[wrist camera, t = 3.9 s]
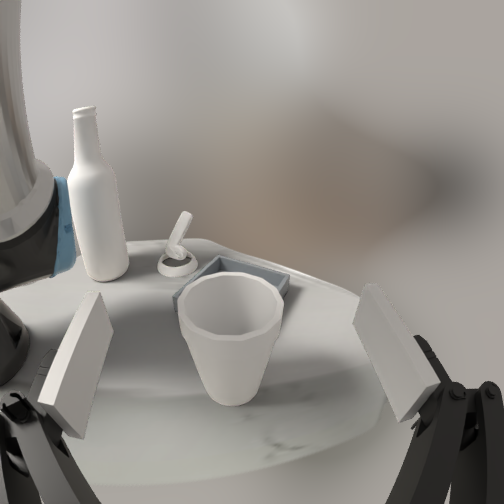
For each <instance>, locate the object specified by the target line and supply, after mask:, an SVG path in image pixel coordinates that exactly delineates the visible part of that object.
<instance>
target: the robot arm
mask: <svg viewBox="0 0 504 504" xmlns="http://www.w3.org/2000/svg"><path fill="white" fill-rule="evenodd" d="M20 13H21V0H0V292H3V291H6V290H10V289H13V288H16V287H19V286H22V285H25V284H28V283H31V282H35V281H38V280H42V279H45V278H48V277H49V278H53V277H55V276H56V275H57V274H59V273H62V272H65V271H68V270H70V269H71V268H72V267H73V266H74V264H75V261H76V249H75V240H74V233H73V228H72V216H71V207H70V199H69V190H68V184H67V180H66V179H65V178H64V177H57V176H56V177H53V175H52V172H51V170H50V168H49V167H48V166H47V165H46V164H45V163H44V162H42V161H41V160H38V159H35V156H34V152H33V147H32V143H31V138H30V133H29V127H28V121H27V115H26V108H25V101H24V94H23V84H22V73H21V56H20ZM353 325H354V327H355V329H356V331H357V334H358V336H359V338H360V340H361V342H362V344H363V346H364V348H365V350H366V352H367V354H368V356H369V358H370V361H371V363H372V365H373V367H374V369H375V371H376V374H377V376H378V378H379V380H380V382H381V384H382V387H383V389H384V391H385V393H386V396H387V398H388V400H389V402H390V404H391V407H392V409H393V412H394V414H395V416H396V419H397V421H398V423H399V422H403V421H406V420H409V419H412V418H413V417H414V415H415V414H416V413H417V412H419V414H420V416H421V417H420V418H419V419H418V420H417V421H416V422H415V423H414V424H413V426H412V427H411V429H414V428H415V426H416V429H415V431H414V434H413V437H412V440H411V443H410V446H409V449H408V452H407V455H406V457H405V460H404V462H403V465H402V467H401V470H400V472H399V475H398V477H397V479H396V482H395V484H394V486H393V489H392V491H391V493H390V495H389V497H388V499H387V501H386V503H385V504H444V502H445V499H446V496H447V493H448V490H449V487H450V484H451V492H450V501H449V504H504V406H503V401H502V395H501V391H500V389H499V387H498V386H497V385H496V384H495V383H493V382H490V381H487V382H484V383H483V384H482V385H481V386H480V387H479V389H466V388H465V387H464V386H463V385H462V384H460V383H458V382H452V381H451V379H450V378H449V376H448V374H447V373H446V371H445V369H444V368H443V366H442V364H441V363H440V361H439V360H438V358H436V355H435V353H434V352H433V351H432V349H431V347H430V345H429V344H428V343H427V341H426V340H425V339H423V338H422V337H421V336H420V335H416V336H413V335H412V334H411V332H410V331H409V329H408V328H407V326H406V325H405V323H404V321H403V320H402V318H401V317H400V315H399V314H398V312H397V311H396V309H395V308H394V306H393V305H392V303H391V302H390V300H389V299H388V297H387V296H386V295H385V293H384V292H383V290H382V289H381V287H380V286H379V285H378V283H368V284H364V288H363V291H362V295H361V298H360V301H359V305H358V308H357V311H356V314H355V318H354V321H353ZM113 333H114V331H113V328H112V325H111V322H110V320H109V317H108V314H107V311H106V308H105V305H104V302H103V299H102V296H101V292H100V291H87V292H86V294H85V296H84V298H83V300H82V301H81V303H80V305H79V307H78V309H77V311H76V313H75V315H74V317H73V319H72V321H71V323H70V325H69V327H68V330H67V332H66V334H65V336H64V338H63V340H62V342H61V345H60V347H59V349H58V350H53V349H51V350H50V351H49V352H48V353H47V354H46V355H45V356H44V358H43V360H42V362H41V364H40V368H39V369H38V371H37V375H36V376H35V378H34V381H33V383H32V385H31V388H30V390H29V393H28V396H27V398H26V397H25V396H24V395H23V394H22V393H21V392H20V391H16V390H12V391H9V392H8V393H6V394H5V395H4V396H3V398H2V399H1V402H0V410H1V411H2V412H0V504H42V503H41V499H40V496H41V498H42V500H43V502H44V504H101V503H100V501H99V500H98V498H97V497H96V495H95V494H94V492H93V491H92V489H91V487H90V486H89V484H88V483H87V481H86V479H85V478H84V476H83V474H82V473H81V471H80V469H79V467H78V466H77V464H76V462H75V460H74V458H73V457H72V455H71V453H70V451H69V449H68V447H67V445H66V443H65V441H64V439H63V438H62V437H61V435H62V431H64V432H65V433H66V434H67V435H68V436H70V437H74V438H79V439H83V440H84V436H85V432H86V427H87V423H88V419H89V415H90V411H91V407H92V403H93V399H94V395H95V392H96V388H97V384H98V381H99V377H100V374H101V371H102V367H103V364H104V361H105V357H106V354H107V351H108V348H109V345H110V342H111V339H112V336H113ZM29 344H30V340H29V335H28V332H27V330H26V328H25V326H24V324H23V323H22V321H21V319H20V318H19V317H18V316H17V315H16V314H15V313H14V312H13V311H12V310H11V309H10V308H9V307H8V306H7V305H6V304H5V303H4V302H3V301H2V300H1V298H0V386H1V385H3V384H4V383H6V382H7V381H8V380H10V379H11V378H12V377H13V376H14V375H15V374H16V373H17V372H18V370H19V369H20V368H21V366H22V365H23V363H24V361H25V359H26V357H27V354H28V350H29ZM39 494H40V495H39Z"/></svg>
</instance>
